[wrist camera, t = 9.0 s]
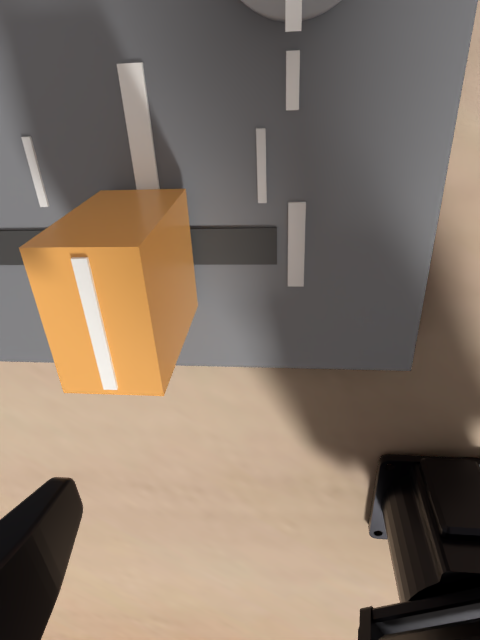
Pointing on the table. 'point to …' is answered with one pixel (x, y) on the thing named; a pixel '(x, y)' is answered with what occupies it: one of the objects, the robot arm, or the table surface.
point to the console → (243, 159)
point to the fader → (116, 290)
